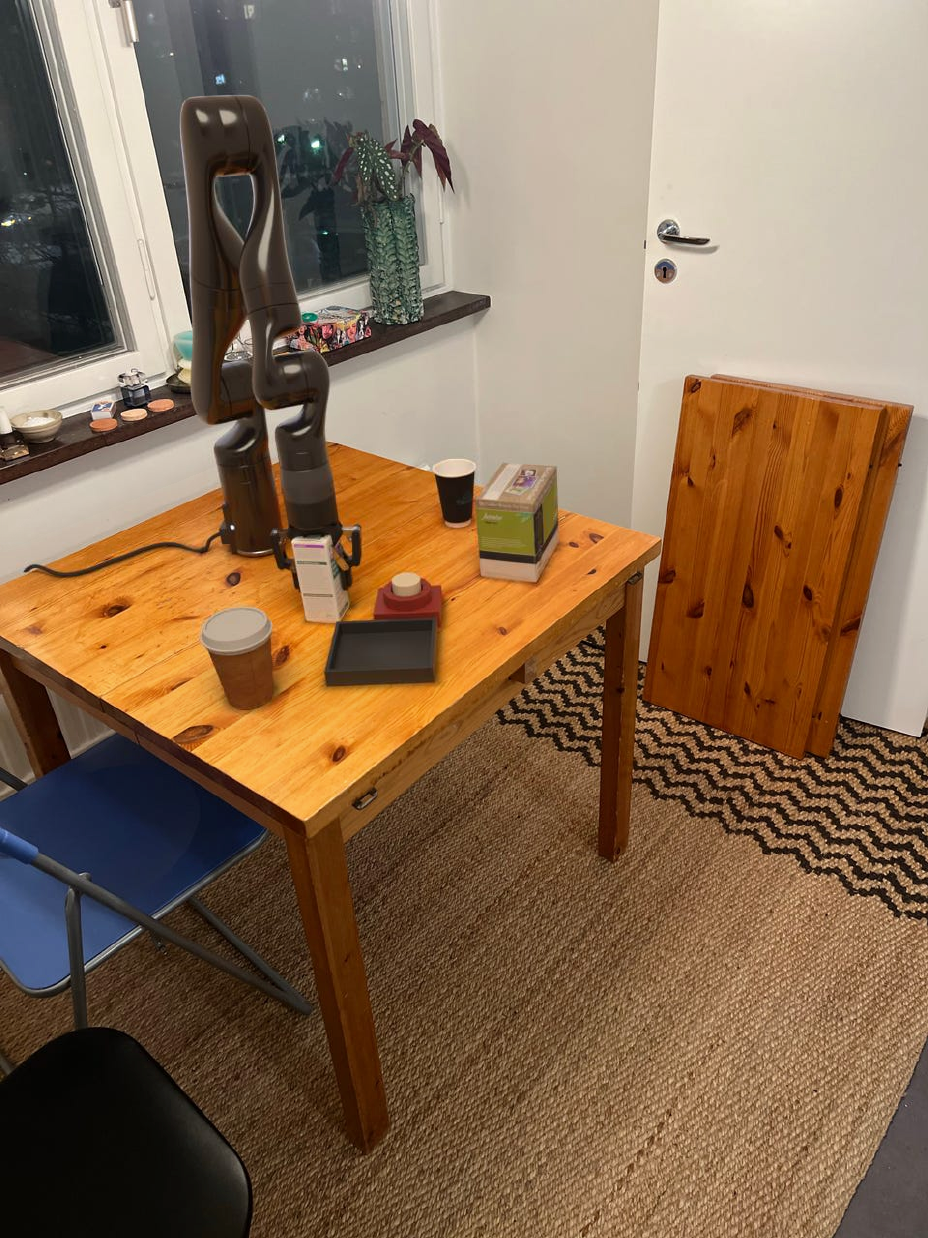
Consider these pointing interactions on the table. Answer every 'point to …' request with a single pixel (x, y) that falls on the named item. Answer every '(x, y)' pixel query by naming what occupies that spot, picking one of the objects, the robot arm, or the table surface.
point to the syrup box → (320, 579)
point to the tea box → (517, 522)
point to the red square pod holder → (409, 603)
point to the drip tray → (382, 652)
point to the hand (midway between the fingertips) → (324, 588)
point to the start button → (406, 584)
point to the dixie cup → (455, 490)
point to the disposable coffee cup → (241, 654)
